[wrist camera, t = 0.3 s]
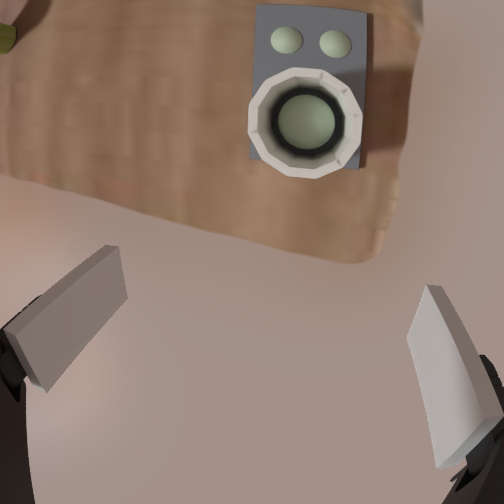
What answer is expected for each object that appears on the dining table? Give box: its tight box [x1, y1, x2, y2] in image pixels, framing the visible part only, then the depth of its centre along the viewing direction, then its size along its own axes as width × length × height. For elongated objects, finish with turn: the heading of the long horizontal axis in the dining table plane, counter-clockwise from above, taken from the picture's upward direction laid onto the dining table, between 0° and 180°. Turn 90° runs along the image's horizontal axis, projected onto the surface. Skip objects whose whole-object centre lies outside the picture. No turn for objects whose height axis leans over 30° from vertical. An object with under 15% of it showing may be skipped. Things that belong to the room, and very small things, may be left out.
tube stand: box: [248, 4, 367, 179], centre depth 26 cm, size 20×13×11 cm, turn 178°
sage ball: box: [278, 95, 335, 149], centre depth 30 cm, size 6×6×6 cm
